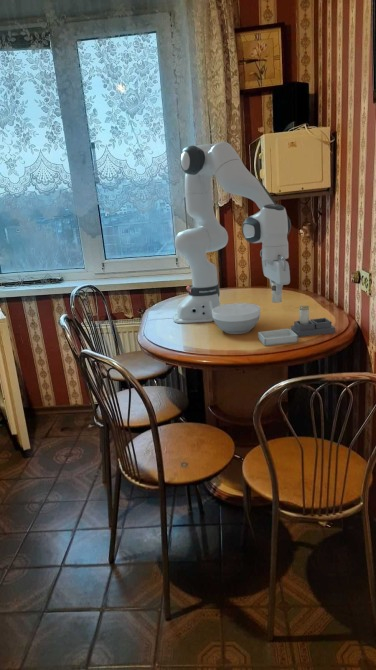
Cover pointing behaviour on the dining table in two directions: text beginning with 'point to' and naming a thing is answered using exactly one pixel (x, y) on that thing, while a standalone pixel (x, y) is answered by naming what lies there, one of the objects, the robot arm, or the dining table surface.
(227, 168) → the robot arm
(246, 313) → the bowl
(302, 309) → the fuse
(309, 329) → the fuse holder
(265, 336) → the parts tray
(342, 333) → the dining table surface
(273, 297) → the fuse
